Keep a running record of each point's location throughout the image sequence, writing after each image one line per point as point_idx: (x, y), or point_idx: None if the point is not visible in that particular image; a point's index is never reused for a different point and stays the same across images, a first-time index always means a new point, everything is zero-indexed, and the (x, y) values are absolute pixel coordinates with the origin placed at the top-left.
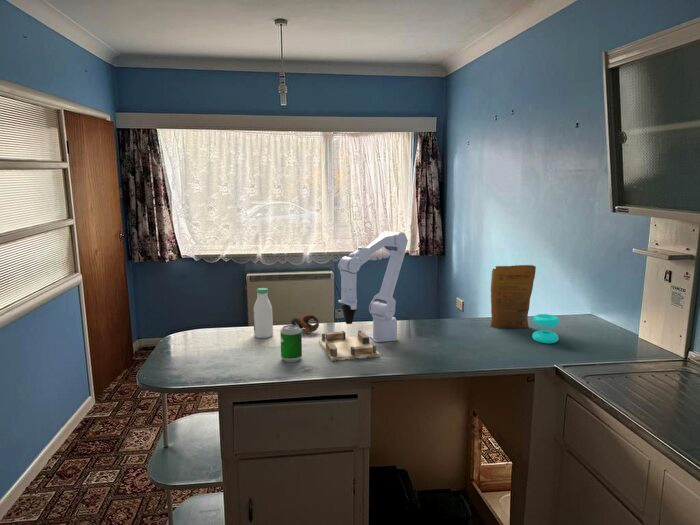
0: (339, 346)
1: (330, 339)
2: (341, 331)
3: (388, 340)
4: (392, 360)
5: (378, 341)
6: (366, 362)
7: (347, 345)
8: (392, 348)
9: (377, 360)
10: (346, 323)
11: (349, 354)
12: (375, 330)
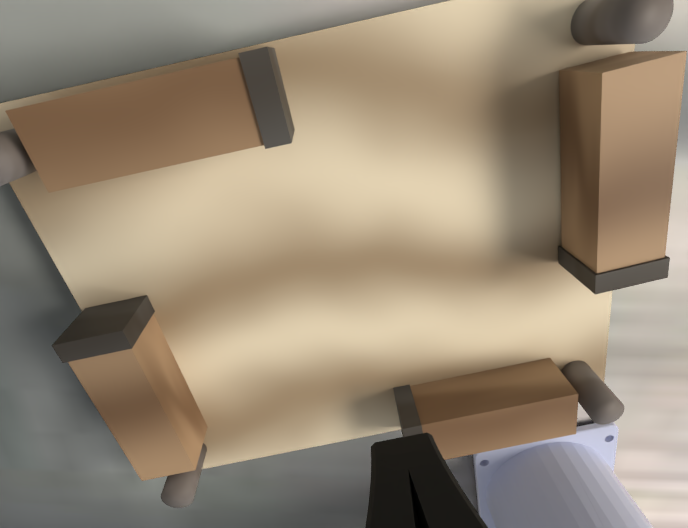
0: (346, 202)
1: (563, 111)
2: (658, 254)
3: (479, 512)
4: (117, 508)
5: (474, 465)
6: (40, 381)
7: (368, 274)
8: (343, 516)
9: (100, 441)
10: (384, 446)
11: (114, 285)
12: (552, 518)
